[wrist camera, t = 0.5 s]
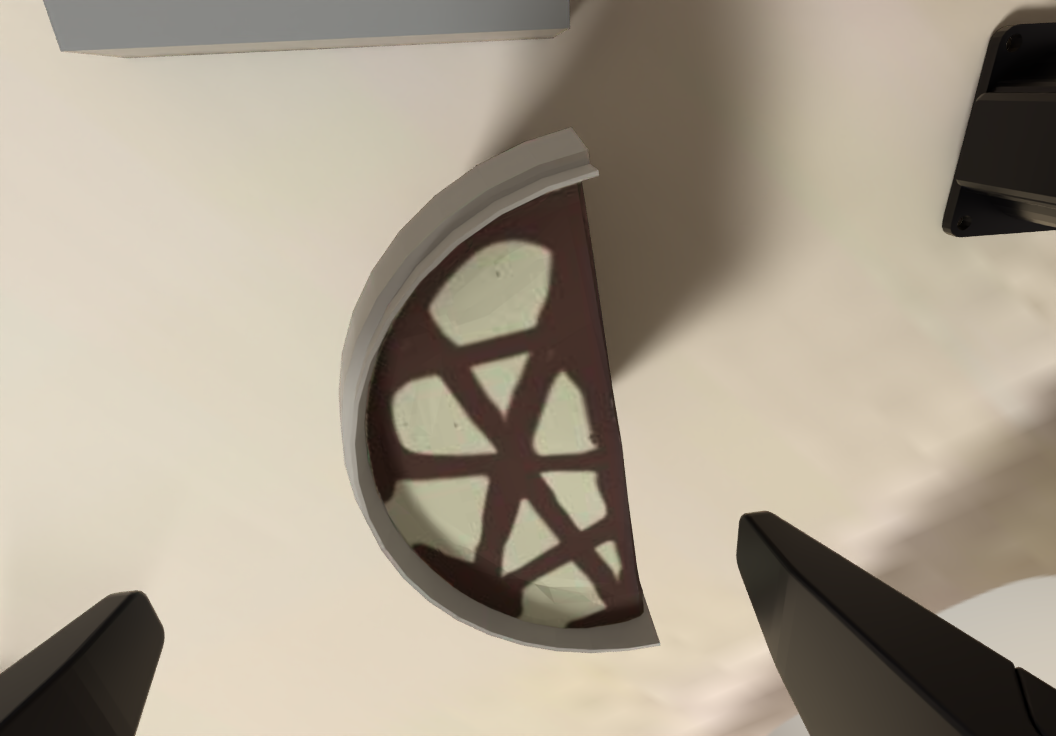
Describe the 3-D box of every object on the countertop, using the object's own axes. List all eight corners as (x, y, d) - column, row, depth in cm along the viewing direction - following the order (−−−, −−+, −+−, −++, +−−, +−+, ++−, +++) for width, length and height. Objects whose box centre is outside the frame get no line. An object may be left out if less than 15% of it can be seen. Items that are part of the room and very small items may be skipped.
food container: (332, 153, 18) (201, 218, 9) (528, 112, 18) (594, 133, 9) (435, 473, 23) (419, 714, 14) (585, 441, 23) (662, 660, 14)
